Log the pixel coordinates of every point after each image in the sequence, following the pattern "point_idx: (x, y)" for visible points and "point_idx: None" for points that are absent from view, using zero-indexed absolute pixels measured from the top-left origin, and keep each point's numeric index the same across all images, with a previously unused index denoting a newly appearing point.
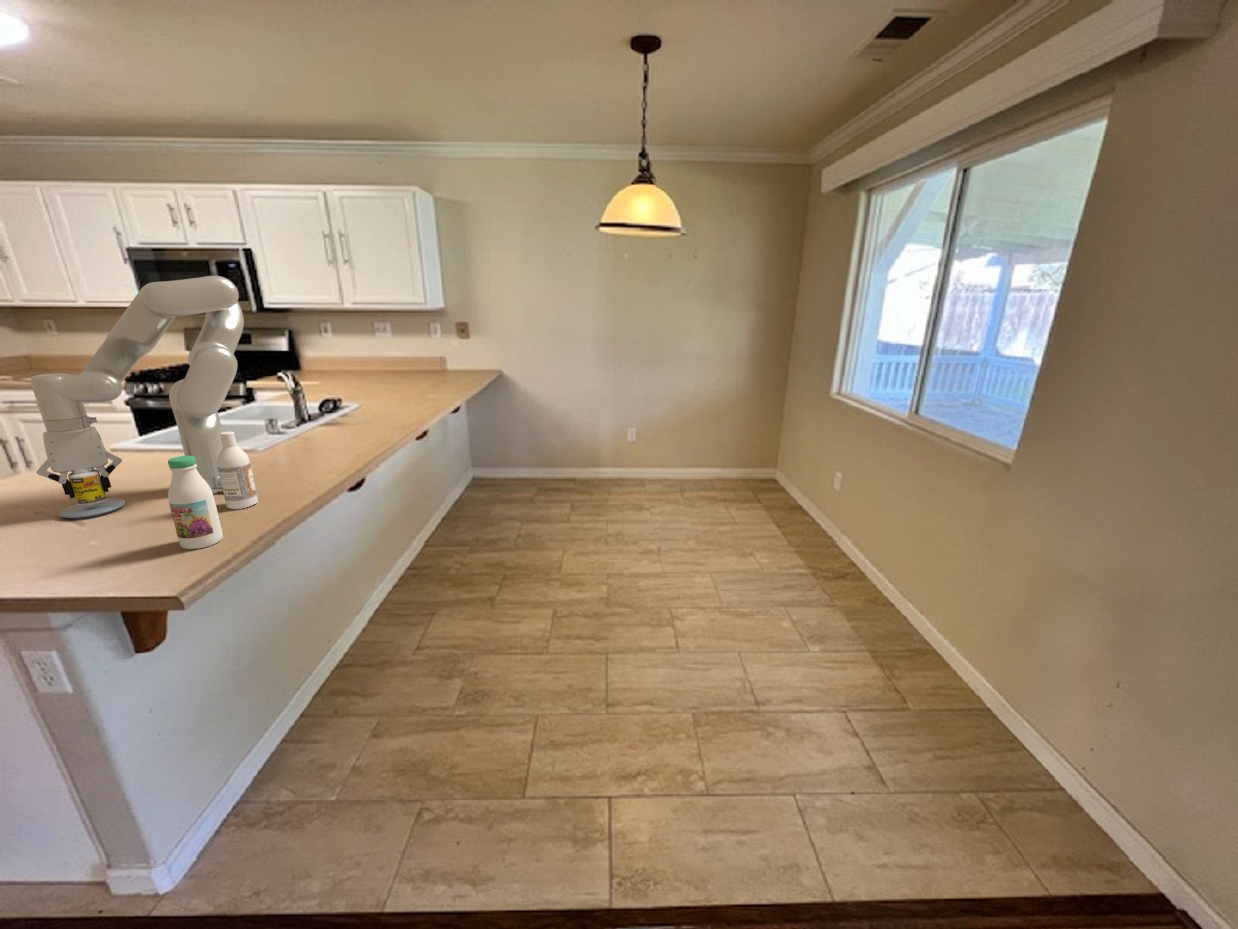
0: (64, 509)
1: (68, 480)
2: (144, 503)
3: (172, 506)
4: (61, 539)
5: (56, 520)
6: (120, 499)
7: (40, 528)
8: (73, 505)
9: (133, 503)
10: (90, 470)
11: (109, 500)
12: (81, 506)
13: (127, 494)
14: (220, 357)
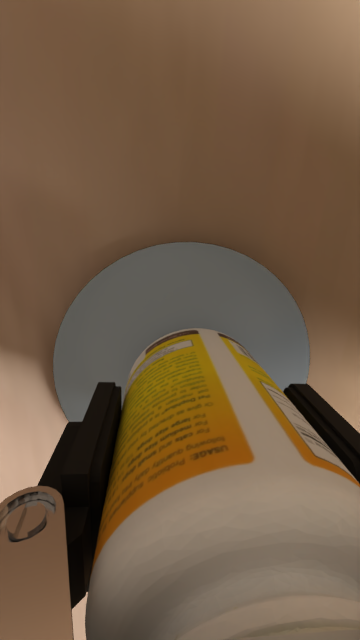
0: (70, 321)
1: (86, 479)
2: (353, 390)
3: None
4: (83, 607)
5: (49, 392)
6: (301, 332)
7: (4, 460)
8: (107, 273)
9: (324, 356)
10: None
11: (260, 312)
12: (142, 326)
13: (352, 144)
14: None
